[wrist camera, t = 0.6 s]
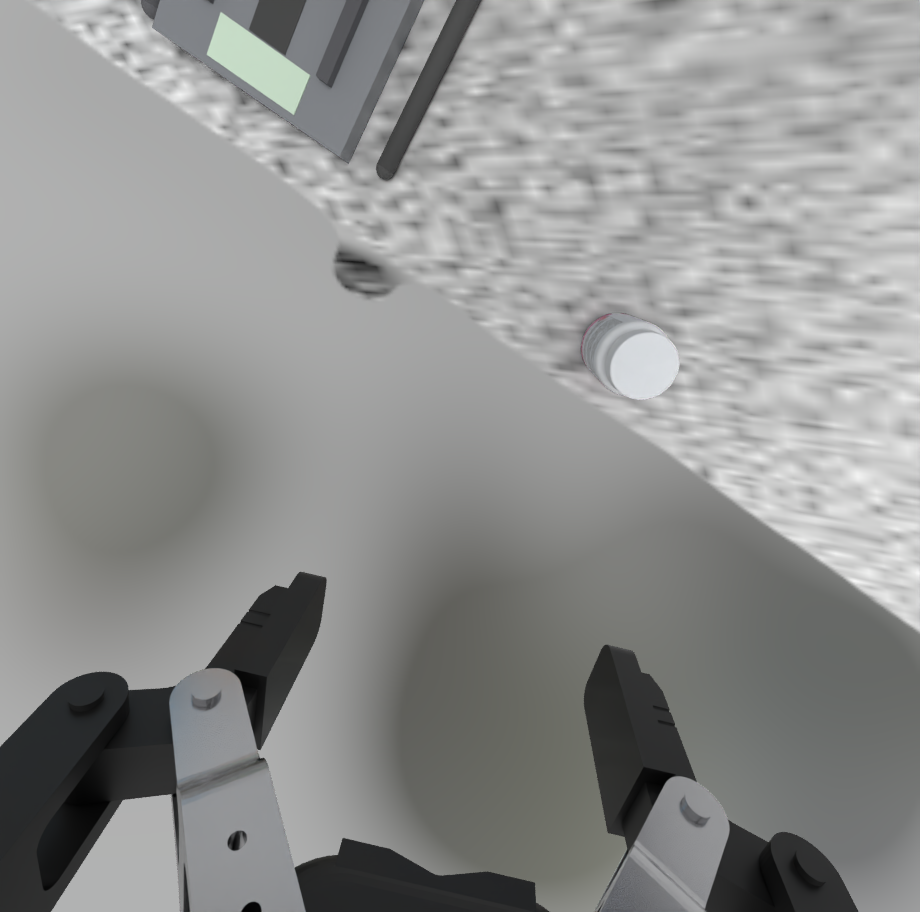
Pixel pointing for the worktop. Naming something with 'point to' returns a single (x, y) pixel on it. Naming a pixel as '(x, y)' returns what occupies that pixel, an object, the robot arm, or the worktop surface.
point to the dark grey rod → (426, 86)
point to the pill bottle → (630, 356)
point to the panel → (298, 55)
